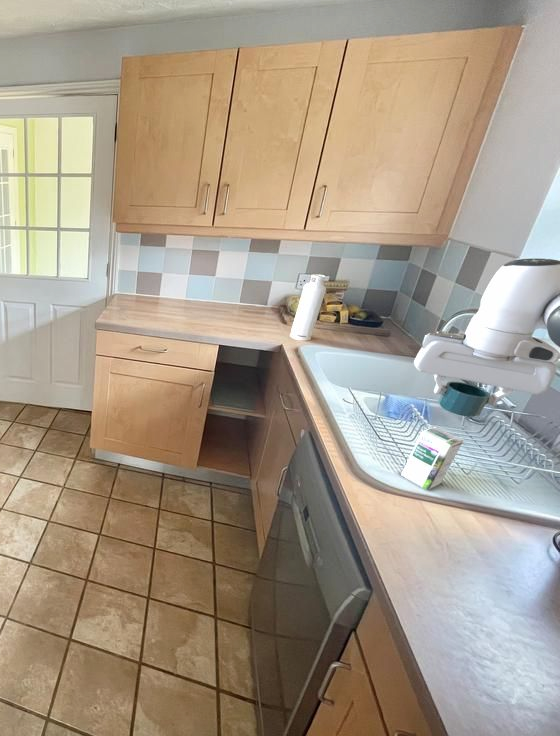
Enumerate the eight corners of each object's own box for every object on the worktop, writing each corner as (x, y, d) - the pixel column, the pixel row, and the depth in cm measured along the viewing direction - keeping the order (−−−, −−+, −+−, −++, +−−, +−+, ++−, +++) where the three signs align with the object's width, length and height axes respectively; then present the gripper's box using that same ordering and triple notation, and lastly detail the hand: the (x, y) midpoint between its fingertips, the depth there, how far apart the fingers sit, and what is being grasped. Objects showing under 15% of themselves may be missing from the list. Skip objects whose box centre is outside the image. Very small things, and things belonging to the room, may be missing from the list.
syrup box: (397, 479, 101) (421, 430, 95) (411, 473, 103) (435, 425, 97) (424, 495, 96) (451, 444, 90) (438, 488, 98) (465, 438, 92)
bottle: (285, 334, 186) (303, 273, 175) (299, 333, 189) (317, 272, 177) (300, 341, 179) (319, 278, 168) (314, 339, 182) (334, 277, 170)
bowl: (473, 406, 91) (484, 386, 89) (483, 421, 86) (495, 401, 83) (434, 398, 94) (443, 378, 92) (441, 411, 89) (451, 391, 87)
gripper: (431, 333, 85) (405, 391, 91) (573, 356, 76) (535, 419, 82) (424, 324, 90) (400, 380, 96) (557, 345, 81) (522, 405, 87)
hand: (463, 398), depth 89 cm, fingers closed on bowl, 7 cm apart
